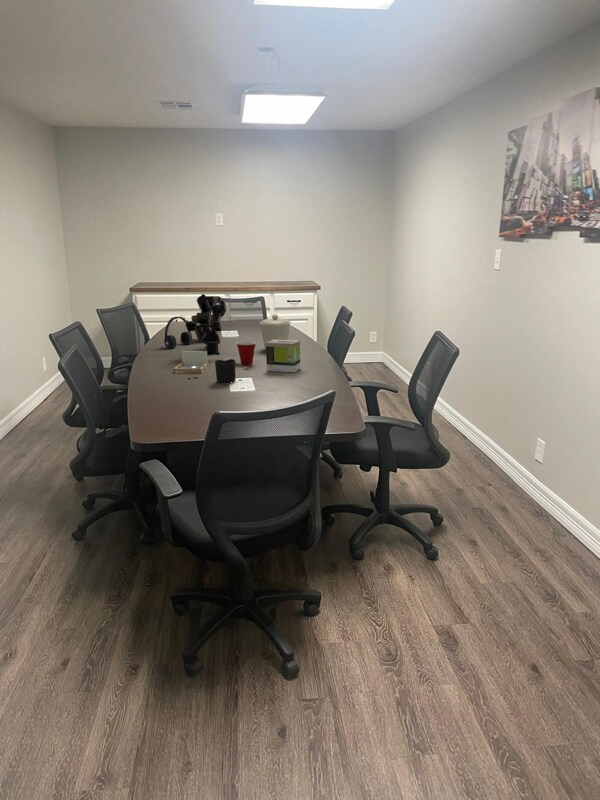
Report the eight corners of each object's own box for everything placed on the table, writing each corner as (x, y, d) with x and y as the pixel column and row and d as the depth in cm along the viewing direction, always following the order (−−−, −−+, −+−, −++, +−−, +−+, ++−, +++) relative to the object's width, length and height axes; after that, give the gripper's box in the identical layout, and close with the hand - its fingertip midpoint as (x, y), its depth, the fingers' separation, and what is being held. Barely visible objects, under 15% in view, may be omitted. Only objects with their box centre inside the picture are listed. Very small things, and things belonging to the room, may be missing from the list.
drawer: (183, 367, 285) (182, 351, 282) (208, 367, 283) (207, 351, 281) (175, 374, 272) (173, 356, 269) (200, 374, 270) (199, 357, 268)
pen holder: (227, 385, 252) (226, 364, 249) (211, 382, 257) (210, 361, 254) (240, 380, 260) (239, 360, 257) (224, 378, 265) (223, 357, 262)
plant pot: (214, 343, 347) (212, 317, 342) (190, 343, 347) (188, 318, 342) (217, 338, 361) (216, 314, 356) (195, 338, 361) (193, 314, 357)
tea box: (300, 368, 281) (300, 340, 277) (294, 373, 272) (293, 343, 268) (273, 366, 286) (272, 338, 281) (266, 371, 277) (265, 342, 272)
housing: (181, 368, 284) (181, 362, 283) (208, 369, 282) (208, 362, 281) (173, 375, 271) (173, 369, 270) (201, 375, 269) (200, 369, 268)
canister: (286, 346, 336) (285, 311, 329) (295, 351, 319) (294, 315, 313) (257, 348, 330) (256, 313, 324) (265, 354, 314) (263, 317, 307)
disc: (195, 366, 282) (194, 363, 281) (202, 369, 276) (202, 366, 275) (180, 369, 277) (180, 366, 277) (187, 372, 271) (187, 369, 271)
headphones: (171, 349, 329) (168, 319, 323) (162, 348, 332) (160, 318, 327) (194, 344, 345) (192, 315, 340) (186, 343, 349) (184, 314, 343)
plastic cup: (260, 362, 294) (260, 340, 290) (250, 367, 285) (250, 344, 281) (243, 361, 298) (242, 339, 295) (233, 365, 289) (231, 343, 285)
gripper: (185, 306, 294) (180, 330, 287) (219, 306, 292) (215, 330, 285) (190, 318, 304) (185, 342, 297) (223, 318, 302) (219, 342, 295)
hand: (201, 339), depth 293 cm, fingers closed
